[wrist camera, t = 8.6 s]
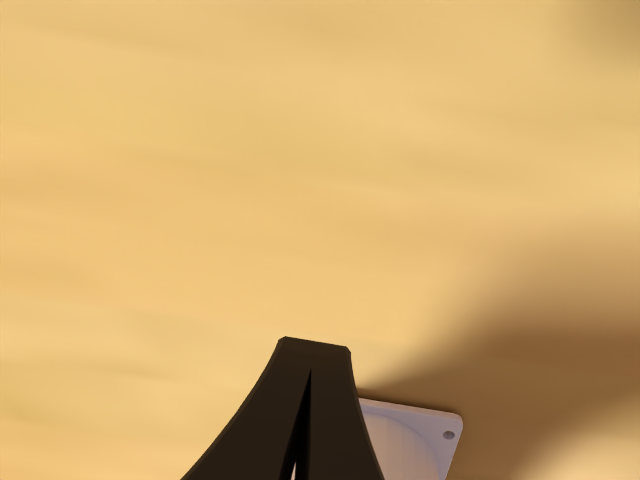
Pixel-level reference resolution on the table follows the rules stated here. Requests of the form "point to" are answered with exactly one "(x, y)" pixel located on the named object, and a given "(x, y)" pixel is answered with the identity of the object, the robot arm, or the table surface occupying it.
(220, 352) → the table surface
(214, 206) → the table surface
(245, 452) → the robot arm
